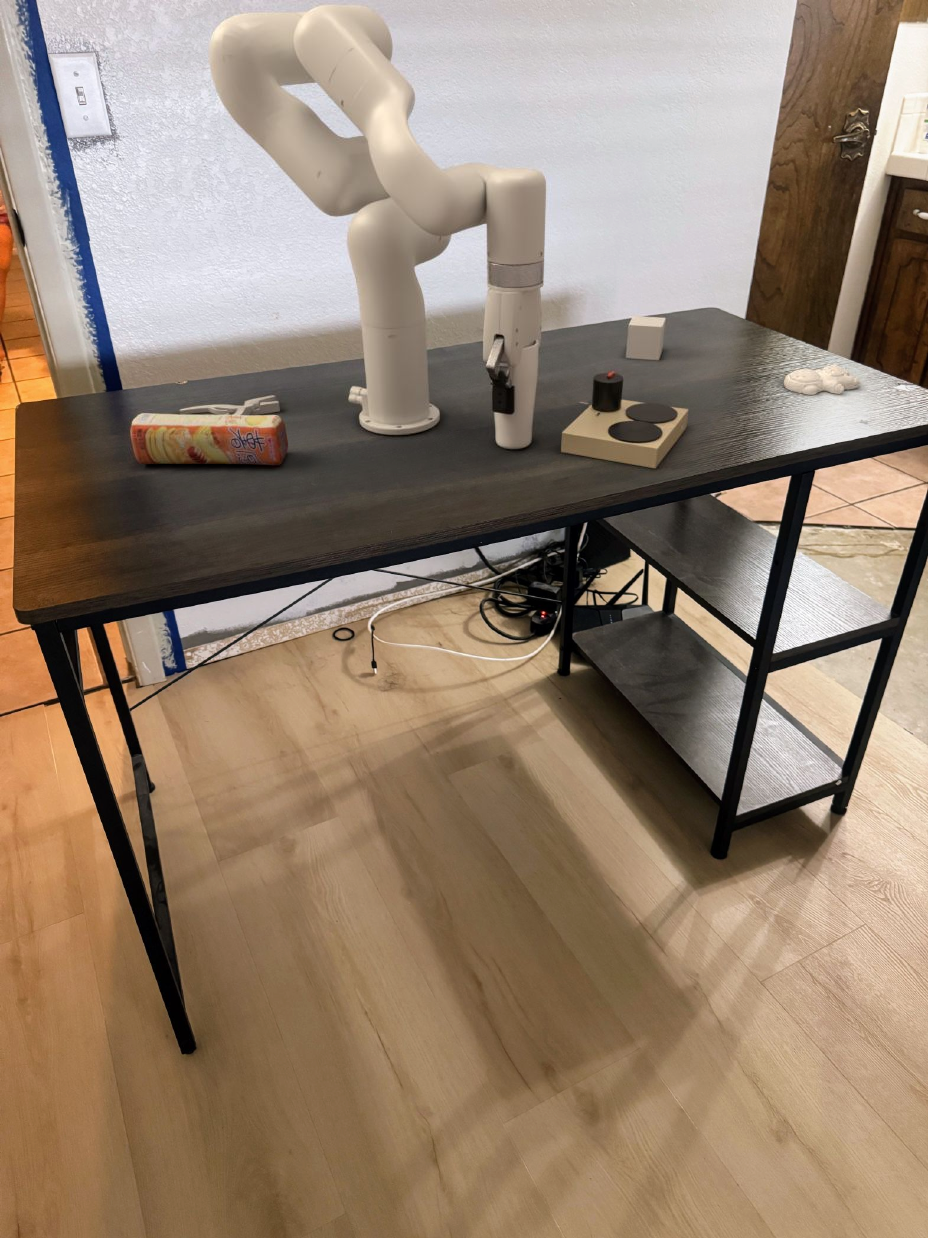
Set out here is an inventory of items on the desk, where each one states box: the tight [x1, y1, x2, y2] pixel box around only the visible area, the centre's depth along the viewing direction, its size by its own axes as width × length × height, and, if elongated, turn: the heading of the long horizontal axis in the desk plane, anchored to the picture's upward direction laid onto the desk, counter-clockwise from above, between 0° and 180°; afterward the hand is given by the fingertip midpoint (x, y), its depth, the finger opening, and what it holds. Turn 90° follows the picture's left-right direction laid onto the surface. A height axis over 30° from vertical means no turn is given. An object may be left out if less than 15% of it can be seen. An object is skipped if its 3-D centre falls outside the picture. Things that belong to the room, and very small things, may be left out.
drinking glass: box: [490, 339, 540, 450], centre depth 125 cm, size 7×7×15 cm
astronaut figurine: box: [783, 363, 861, 396], centre depth 146 cm, size 9×12×3 cm
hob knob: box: [591, 370, 624, 412], centre depth 131 cm, size 4×4×5 cm
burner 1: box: [625, 402, 678, 424], centre depth 130 cm, size 8×8×1 cm
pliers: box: [179, 395, 281, 416], centre depth 141 cm, size 10×2×15 cm
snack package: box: [130, 412, 289, 466], centre depth 125 cm, size 21×7×7 cm, turn 87°
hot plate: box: [560, 399, 689, 469], centre depth 129 cm, size 16×16×3 cm
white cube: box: [625, 315, 667, 361], centre depth 161 cm, size 6×6×6 cm
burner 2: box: [608, 421, 663, 443], centre depth 124 cm, size 8×8×1 cm
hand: (514, 402), depth 126 cm, fingers closed on drinking glass, 6 cm apart
